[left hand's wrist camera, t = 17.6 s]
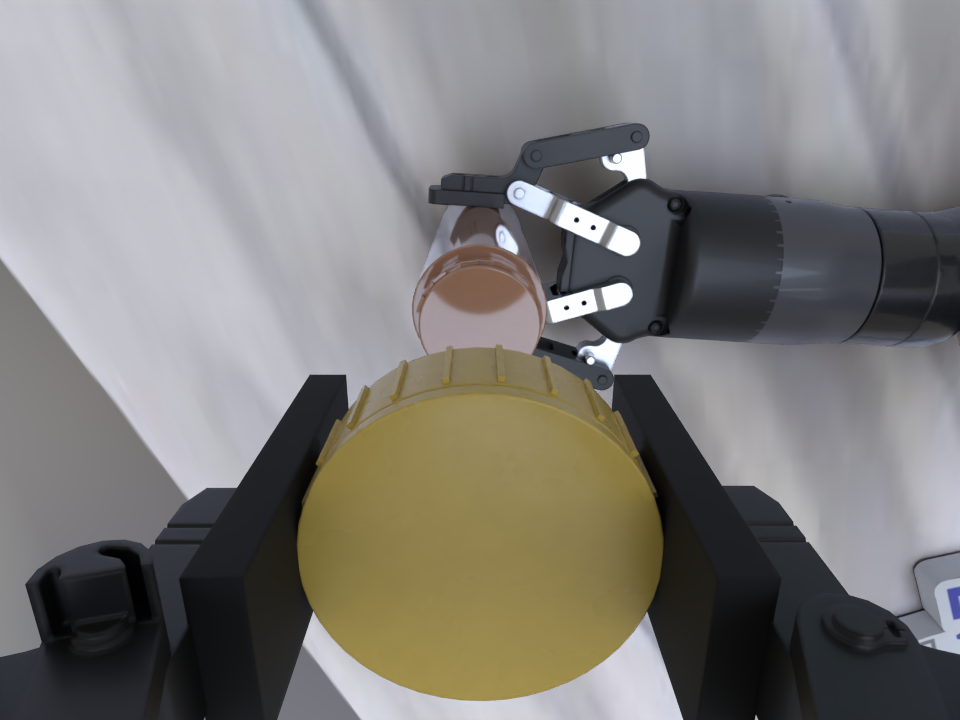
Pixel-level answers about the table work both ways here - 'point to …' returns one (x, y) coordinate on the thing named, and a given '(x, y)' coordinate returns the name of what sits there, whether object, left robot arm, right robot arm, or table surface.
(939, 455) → the table surface
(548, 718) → the table surface
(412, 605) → the lid
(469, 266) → the pinkish brown bottle
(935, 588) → the decorative sign
